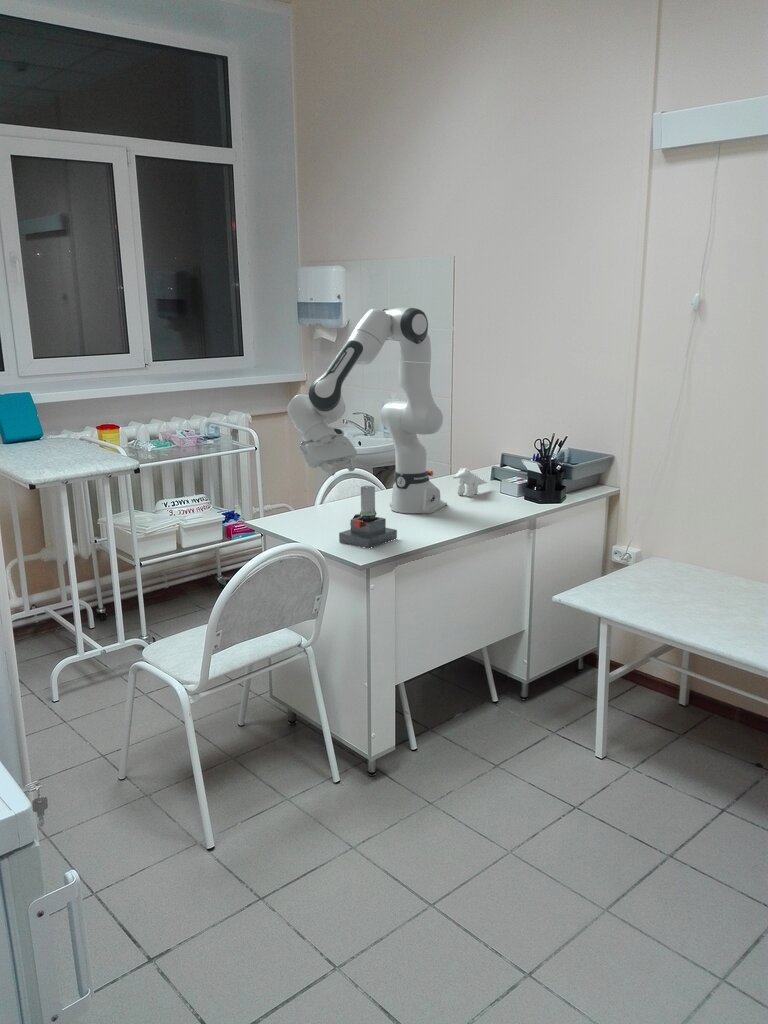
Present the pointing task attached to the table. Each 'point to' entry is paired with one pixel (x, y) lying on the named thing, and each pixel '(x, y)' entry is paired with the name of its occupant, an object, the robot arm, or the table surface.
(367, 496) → the column
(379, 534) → the stand base
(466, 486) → the dinosaur statue
